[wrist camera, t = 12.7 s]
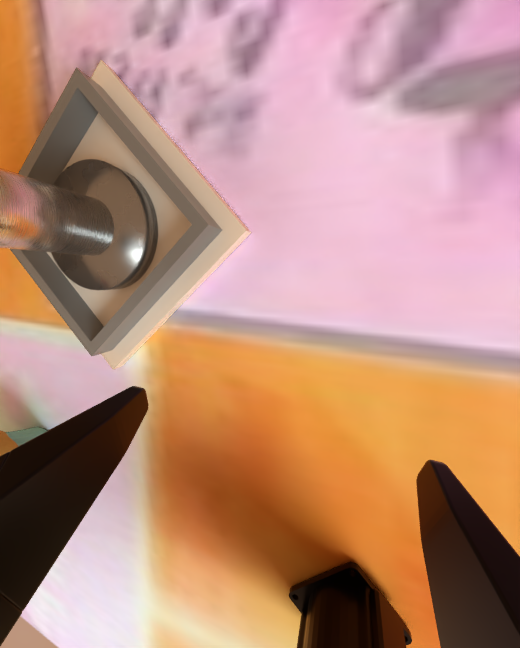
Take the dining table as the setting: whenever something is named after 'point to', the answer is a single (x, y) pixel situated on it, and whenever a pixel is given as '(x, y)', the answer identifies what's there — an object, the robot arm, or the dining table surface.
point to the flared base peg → (83, 222)
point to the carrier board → (169, 202)
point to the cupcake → (17, 438)
